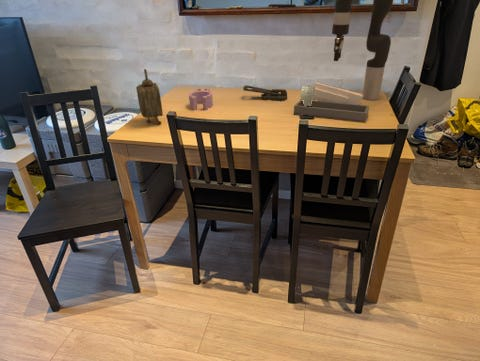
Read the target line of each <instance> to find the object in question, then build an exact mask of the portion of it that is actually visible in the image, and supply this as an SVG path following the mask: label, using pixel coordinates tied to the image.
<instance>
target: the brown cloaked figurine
mask: <svg viewBox="0 0 480 361" xmlns="http://www.w3.org/2000/svg"><path fill="white" fill-rule="evenodd" d="M143 71H144V72H143V73H144V78H145V79H143V80H142V82H141V84H139V85H137V86H136V88H135V89H136V94H137V100H138V106H139V111H140V114H141V116H142V117H143V118H147V119H146V122H147V123H150V122H151V120H150V118H154V119H156V121H157V124H158V125H162V121H161V120H159V117H163V116H164V115H163V107H162V106H163V105H162V100H161V94H160V93H161V92H160V88H159V86H158V84H157V83H156V82H153V81H152V80H151V79H149V78H148V76H149V75H148V72H147V69H146V68H144V69H143Z"/></svg>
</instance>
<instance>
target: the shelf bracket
mask: <svg viewBox="0 0 480 361" xmlns="http://www.w3.org/2000/svg"><path fill="white" fill-rule="evenodd" d="M313 87H315V90H316V92H315V99H314V101H324V102H335V103H345V104H356V105H361V102H362V100H363V98H362V97H363V95H362V93H359V92H355V91H351V90H347V89H343V88H339V87H335V86H332V85H328V84H327V85H326V84H323V83H319V82H316V81H315V82H314V84H313Z"/></svg>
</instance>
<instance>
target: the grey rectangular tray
mask: <svg viewBox="0 0 480 361" xmlns="http://www.w3.org/2000/svg"><path fill="white" fill-rule="evenodd" d="M369 110H370V105H365V104H360V105H356V104H345V103H335V102H324V101H318V100H315V101H314V100H313V101H312V107H307V106H303V101H302V98H301V99H299V100H298V101H297V102H296V103H295V104H294V106H293V115H294V116H301V115H300V114H308V115H312V116H314V117H313V118H320V119H329V120H339V121H347V122H355V123H364V124H365V123H366V120H367V117H368V115H369Z"/></svg>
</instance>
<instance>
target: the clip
mask: <svg viewBox="0 0 480 361" xmlns="http://www.w3.org/2000/svg"><path fill="white" fill-rule="evenodd" d="M188 100H189V101H188V102H189V107H190V109H192V111H198V105H201V104H202V105H203V106H202V107H203V110H204V111H208V110H209V109H212V108H213V107H212V106H214V104H213V93H212V92H211V90H210V88H208V87H205V88H204V90H202V89H201V88H200V87H197V88H195V89H194V91H192V92H189V93H188ZM208 108H209V109H208Z"/></svg>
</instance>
